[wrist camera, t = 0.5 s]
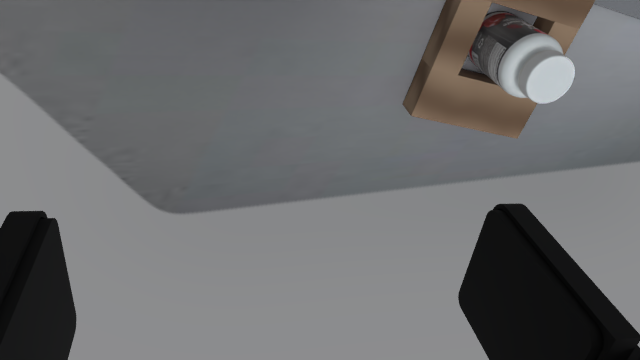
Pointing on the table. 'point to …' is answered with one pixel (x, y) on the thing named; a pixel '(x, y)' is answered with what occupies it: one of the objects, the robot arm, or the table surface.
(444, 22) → the brown flat hollow frame
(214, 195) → the table surface
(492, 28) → the pill bottle
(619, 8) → the charcoal mat
